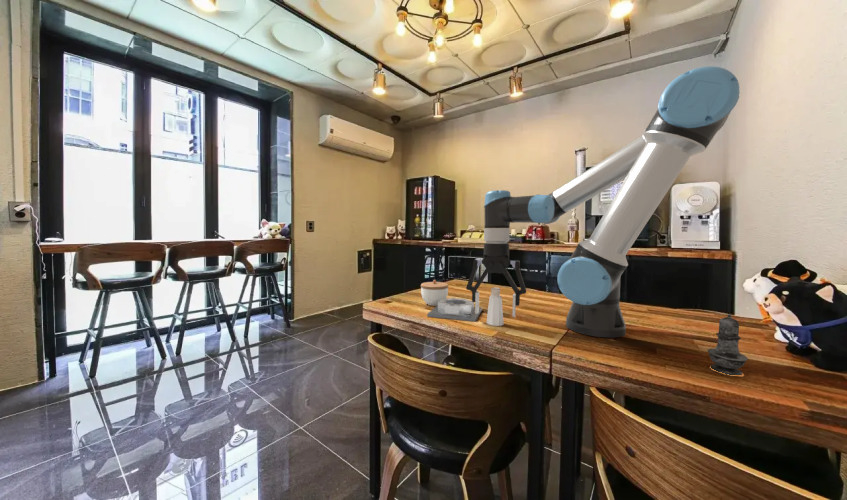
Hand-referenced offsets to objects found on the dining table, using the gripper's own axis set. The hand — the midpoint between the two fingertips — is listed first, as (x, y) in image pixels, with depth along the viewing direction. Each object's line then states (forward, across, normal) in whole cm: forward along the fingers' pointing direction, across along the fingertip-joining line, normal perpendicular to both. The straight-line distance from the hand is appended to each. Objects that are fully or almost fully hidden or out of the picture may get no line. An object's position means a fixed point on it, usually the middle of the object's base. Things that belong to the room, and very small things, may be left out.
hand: (495, 314), depth 94 cm
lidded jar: (+3, +25, -18) cm, 31 cm away
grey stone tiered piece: (+3, -48, +17) cm, 51 cm away
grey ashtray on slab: (+3, +14, -7) cm, 16 cm away
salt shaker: (+3, 0, 0) cm, 3 cm away
